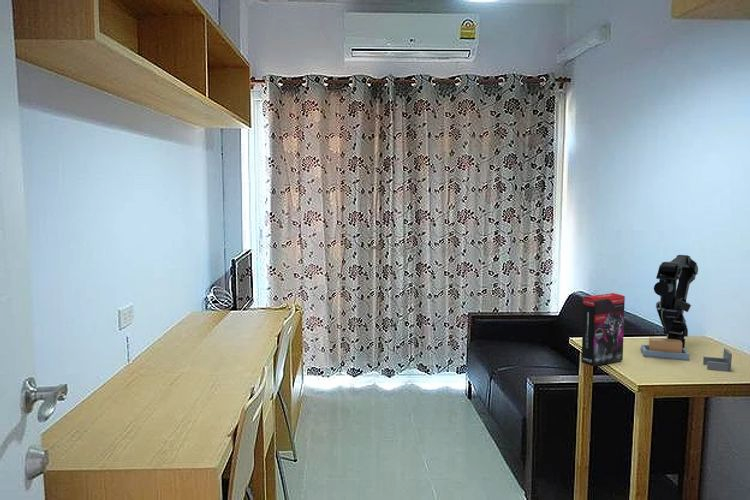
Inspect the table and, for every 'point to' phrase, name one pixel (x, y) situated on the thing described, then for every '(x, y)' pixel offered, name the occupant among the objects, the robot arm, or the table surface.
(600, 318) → the graphics card box
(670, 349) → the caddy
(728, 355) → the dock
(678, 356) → the tray
